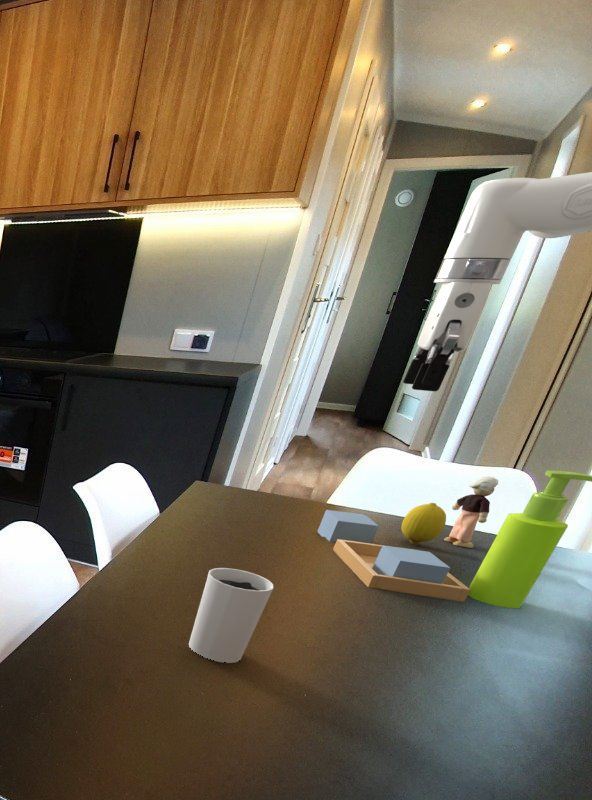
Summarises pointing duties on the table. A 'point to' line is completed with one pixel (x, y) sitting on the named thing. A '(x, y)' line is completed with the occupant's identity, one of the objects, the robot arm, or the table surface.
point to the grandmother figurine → (472, 511)
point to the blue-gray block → (347, 527)
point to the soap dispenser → (523, 546)
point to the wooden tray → (362, 563)
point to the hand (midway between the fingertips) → (419, 387)
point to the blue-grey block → (410, 564)
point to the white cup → (228, 613)
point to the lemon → (423, 523)
